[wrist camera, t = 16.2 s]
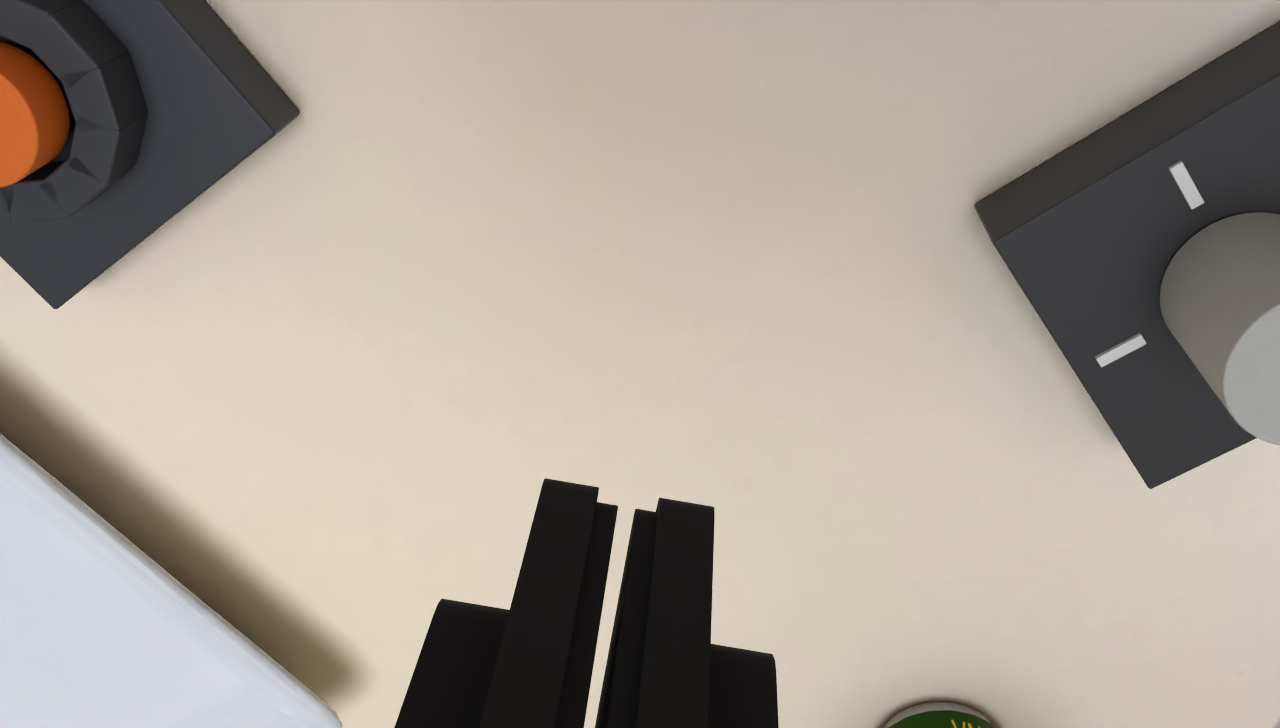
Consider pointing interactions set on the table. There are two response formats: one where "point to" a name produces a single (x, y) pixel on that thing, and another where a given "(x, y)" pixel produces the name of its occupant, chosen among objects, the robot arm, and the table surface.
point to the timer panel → (1145, 246)
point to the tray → (118, 629)
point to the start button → (28, 115)
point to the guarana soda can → (939, 717)
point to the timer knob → (1232, 315)
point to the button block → (128, 129)
